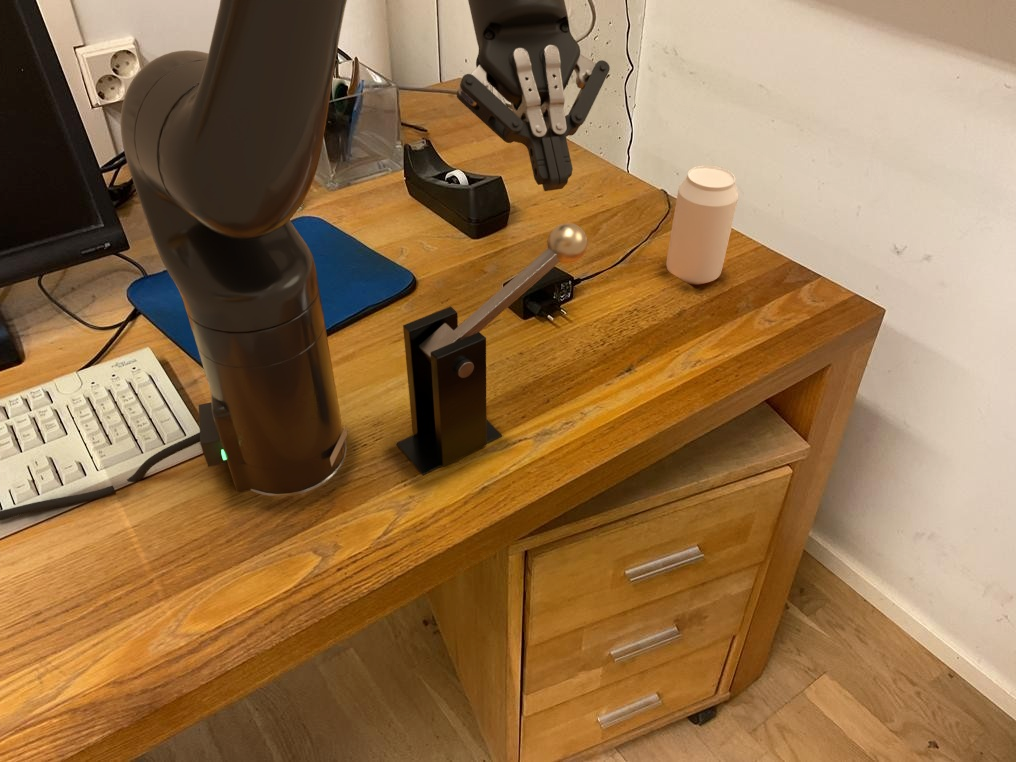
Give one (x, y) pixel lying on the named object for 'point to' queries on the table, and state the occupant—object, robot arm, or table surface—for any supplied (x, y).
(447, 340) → the lever
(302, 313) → the robot arm
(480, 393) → the bracket
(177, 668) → the table surface
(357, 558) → the table surface
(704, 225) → the beverage can
